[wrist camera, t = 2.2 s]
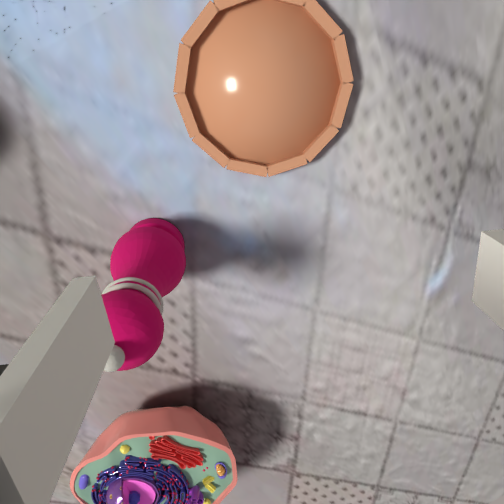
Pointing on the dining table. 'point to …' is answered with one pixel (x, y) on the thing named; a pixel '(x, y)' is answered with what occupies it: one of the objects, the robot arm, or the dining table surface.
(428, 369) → the dining table surface
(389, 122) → the dining table surface
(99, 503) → the cell model
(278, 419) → the dining table surface
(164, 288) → the pepper mill
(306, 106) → the terracotta saucer
